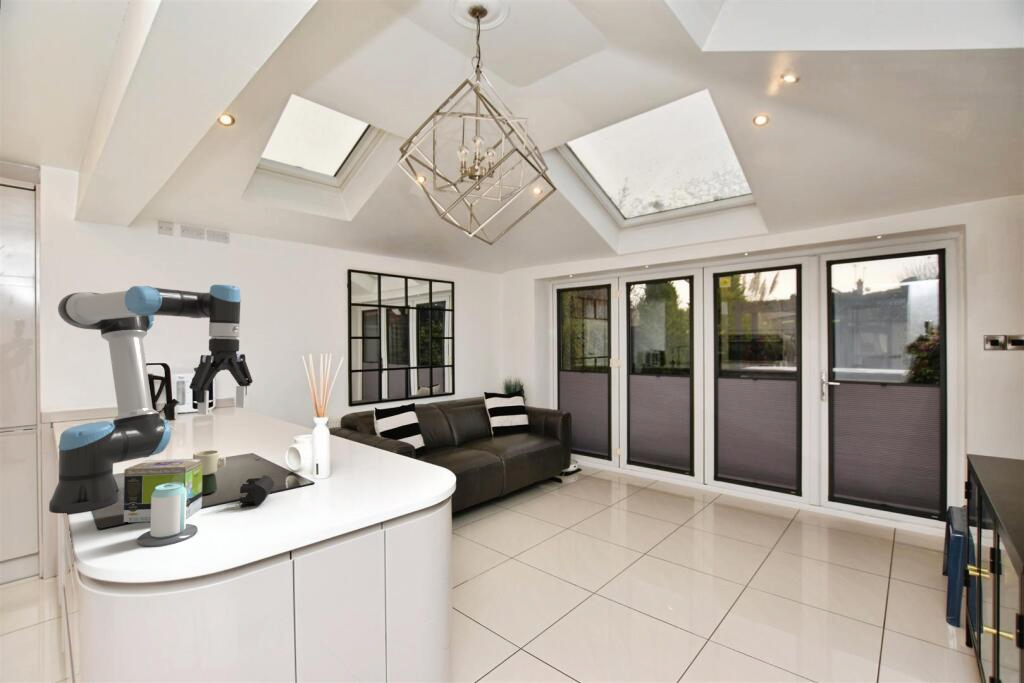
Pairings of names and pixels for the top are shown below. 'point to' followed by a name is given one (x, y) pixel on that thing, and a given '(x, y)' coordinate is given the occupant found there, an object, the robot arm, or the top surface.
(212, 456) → the character mug
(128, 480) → the tea box
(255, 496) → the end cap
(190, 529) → the coaster
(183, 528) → the can
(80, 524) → the top surface
